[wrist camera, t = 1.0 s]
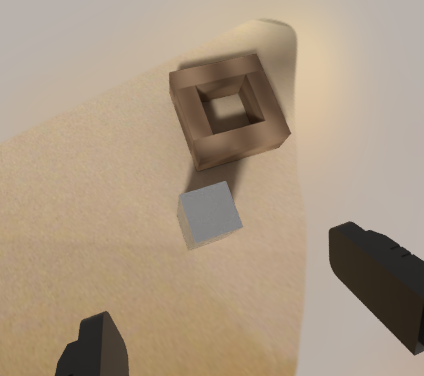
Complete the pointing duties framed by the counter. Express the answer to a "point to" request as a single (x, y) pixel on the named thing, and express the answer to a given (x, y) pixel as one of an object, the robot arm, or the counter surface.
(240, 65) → the well block
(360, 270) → the robot arm
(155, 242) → the counter surface
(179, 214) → the grey square pillar
